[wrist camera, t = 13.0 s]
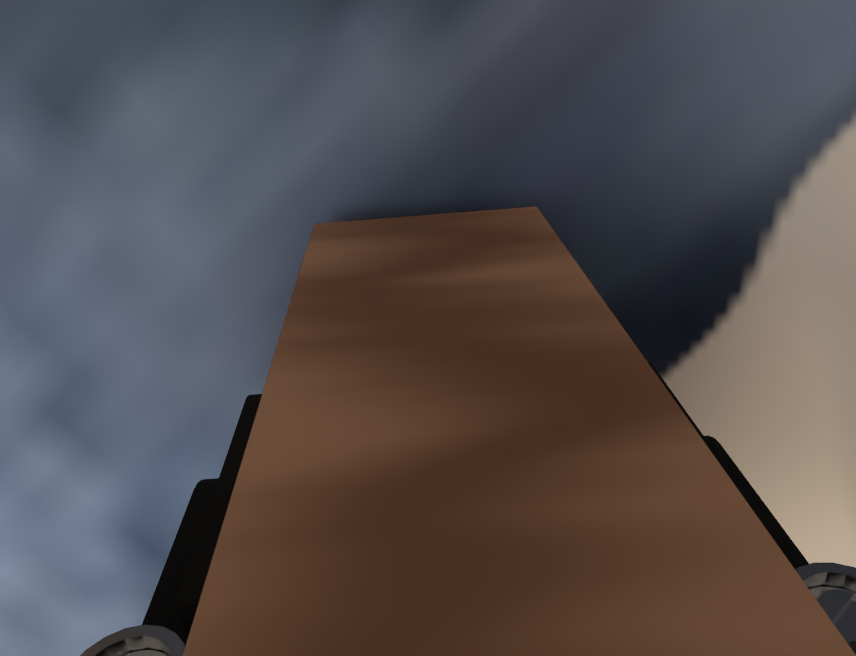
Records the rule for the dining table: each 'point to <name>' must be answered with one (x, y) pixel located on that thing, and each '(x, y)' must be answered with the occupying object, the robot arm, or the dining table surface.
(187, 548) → the robot arm
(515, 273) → the key post
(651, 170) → the dining table surface
